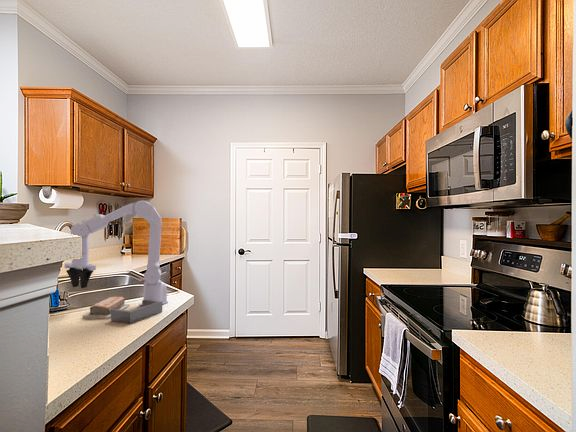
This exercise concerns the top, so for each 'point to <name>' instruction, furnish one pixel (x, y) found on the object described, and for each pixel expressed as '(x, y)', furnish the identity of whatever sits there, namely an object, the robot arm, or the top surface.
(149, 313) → the dark grey slab
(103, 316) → the packaged product
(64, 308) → the top surface
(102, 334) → the top surface
